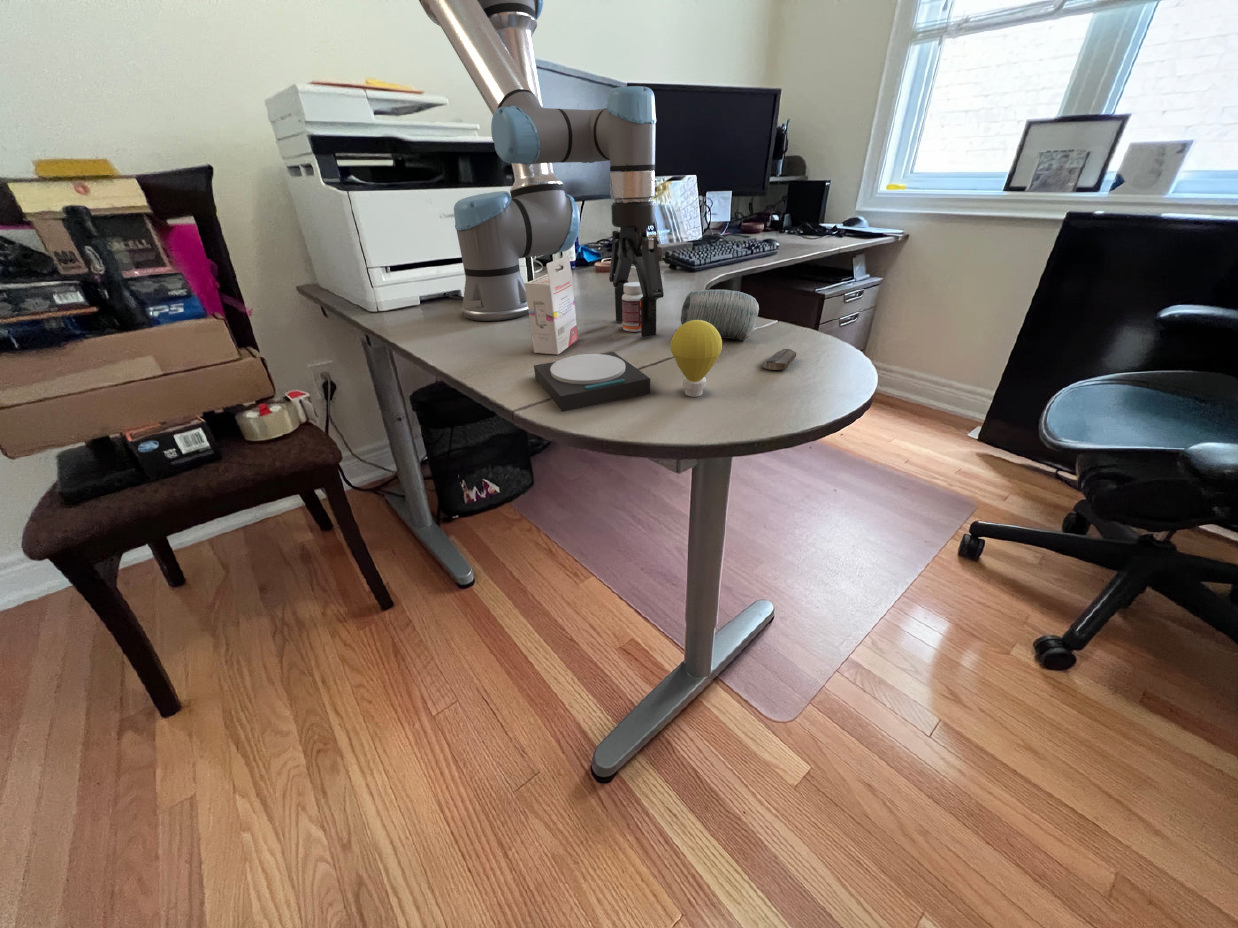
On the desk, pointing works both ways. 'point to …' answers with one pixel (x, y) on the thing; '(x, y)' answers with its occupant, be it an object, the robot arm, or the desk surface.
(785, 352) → the block
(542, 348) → the ink cartridge box
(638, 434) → the desk surface
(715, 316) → the spool
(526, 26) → the robot arm
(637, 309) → the pill bottle
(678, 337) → the light bulb
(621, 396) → the scale
